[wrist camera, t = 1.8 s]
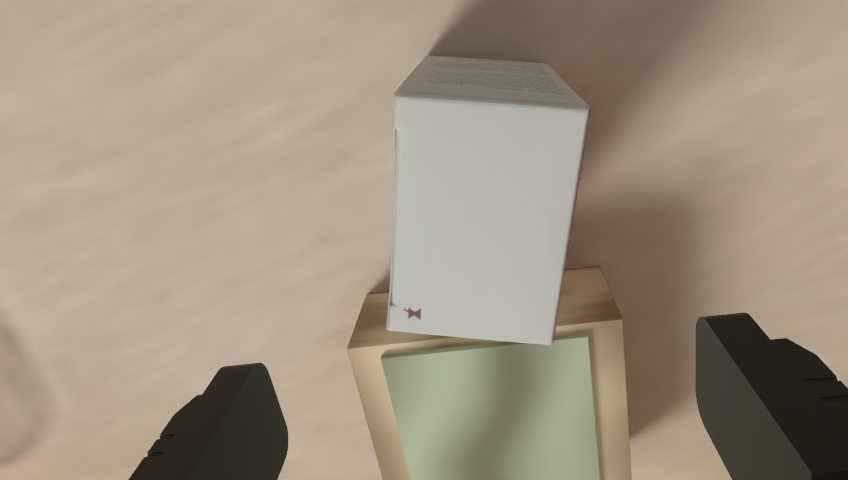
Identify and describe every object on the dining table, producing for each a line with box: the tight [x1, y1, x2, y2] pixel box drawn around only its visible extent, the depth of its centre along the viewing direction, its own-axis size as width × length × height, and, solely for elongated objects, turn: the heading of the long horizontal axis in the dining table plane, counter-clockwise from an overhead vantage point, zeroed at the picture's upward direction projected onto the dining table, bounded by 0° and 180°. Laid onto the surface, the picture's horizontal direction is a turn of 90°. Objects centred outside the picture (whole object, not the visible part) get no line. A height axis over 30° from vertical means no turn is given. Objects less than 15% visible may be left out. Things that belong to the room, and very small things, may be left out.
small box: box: [386, 56, 591, 345], centre depth 22 cm, size 8×6×10 cm
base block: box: [347, 267, 632, 480], centre depth 30 cm, size 12×12×5 cm
